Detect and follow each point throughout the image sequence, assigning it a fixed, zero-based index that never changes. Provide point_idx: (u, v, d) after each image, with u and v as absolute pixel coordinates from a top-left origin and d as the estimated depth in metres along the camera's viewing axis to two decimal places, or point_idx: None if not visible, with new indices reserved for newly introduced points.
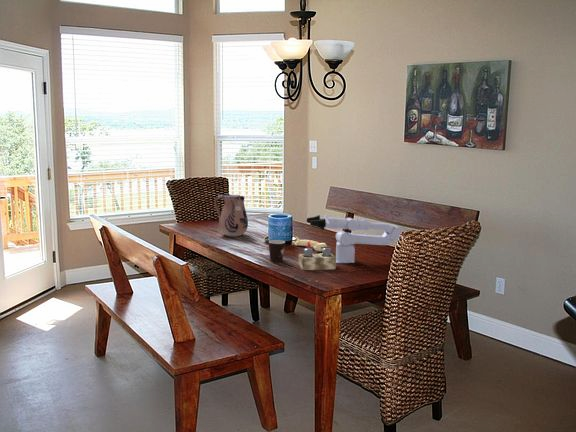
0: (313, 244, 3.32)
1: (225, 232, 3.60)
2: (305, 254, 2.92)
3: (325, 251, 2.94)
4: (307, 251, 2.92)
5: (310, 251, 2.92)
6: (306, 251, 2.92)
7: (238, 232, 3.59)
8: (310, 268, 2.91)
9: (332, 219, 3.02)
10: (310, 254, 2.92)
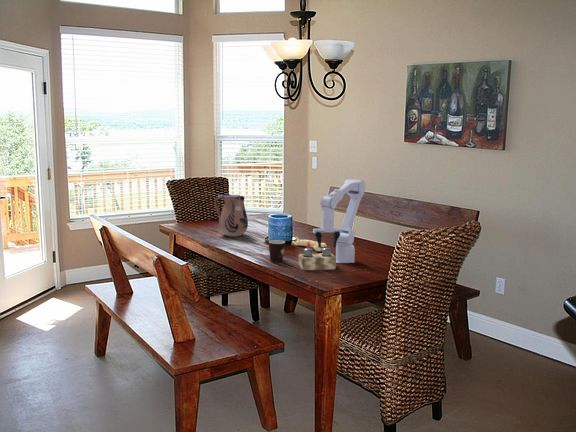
0: (313, 244, 3.32)
1: (225, 232, 3.60)
2: (305, 254, 2.92)
3: (325, 251, 2.94)
4: (307, 251, 2.92)
5: (310, 251, 2.92)
6: (306, 251, 2.92)
7: (238, 232, 3.59)
8: (310, 268, 2.91)
9: (332, 224, 2.92)
10: (310, 254, 2.92)
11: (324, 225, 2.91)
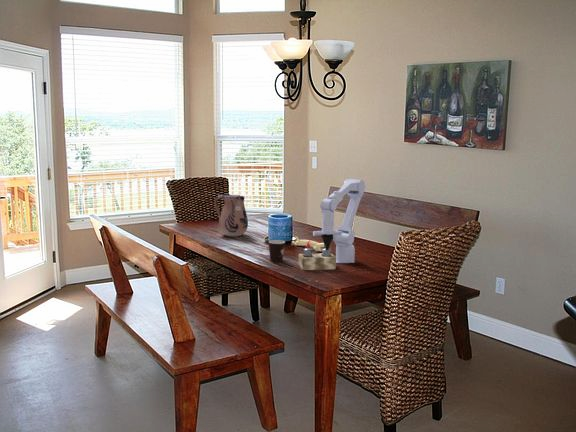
0: (313, 244, 3.32)
1: (225, 232, 3.60)
2: (305, 254, 2.92)
3: (325, 252, 2.94)
4: (307, 251, 2.92)
5: (310, 251, 2.92)
6: (306, 251, 2.92)
7: (238, 232, 3.59)
8: (310, 268, 2.91)
9: (332, 226, 2.92)
10: (310, 254, 2.92)
11: (324, 227, 2.92)
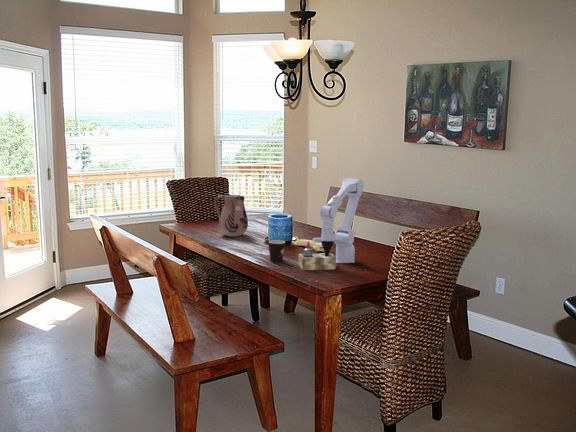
0: (312, 244, 3.32)
1: (225, 232, 3.60)
2: (305, 254, 2.92)
3: None
4: (307, 251, 2.92)
5: (310, 251, 2.92)
6: (306, 251, 2.92)
7: (238, 232, 3.59)
8: (310, 268, 2.91)
9: (332, 233, 2.92)
10: (310, 254, 2.92)
11: (324, 234, 2.92)
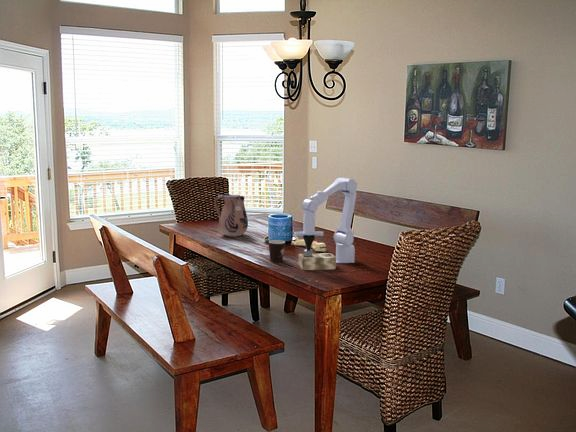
0: (312, 244, 3.32)
1: (225, 232, 3.60)
2: (305, 255, 2.93)
3: None
4: (307, 252, 2.92)
5: (310, 252, 2.92)
6: (306, 252, 2.92)
7: (238, 232, 3.59)
8: (310, 268, 2.91)
9: (313, 227, 2.90)
10: (310, 255, 2.92)
11: (305, 228, 2.90)
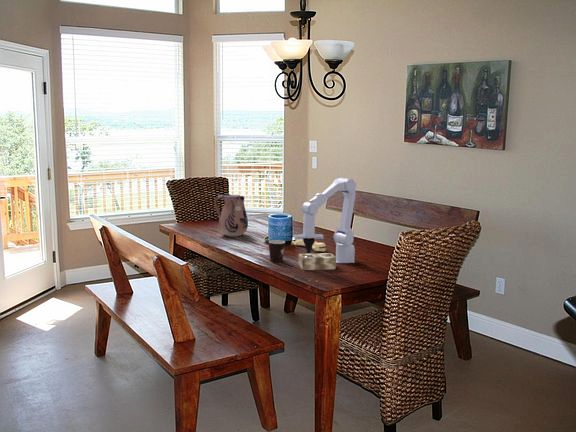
0: None
1: (225, 232, 3.60)
2: None
3: None
4: None
5: None
6: None
7: (238, 232, 3.59)
8: (310, 268, 2.91)
9: (313, 230, 2.90)
10: None
11: (305, 231, 2.90)
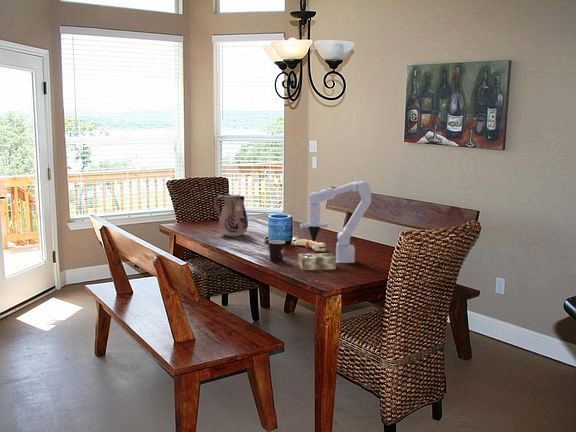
0: (312, 244, 3.32)
1: (225, 232, 3.60)
2: None
3: None
4: None
5: None
6: None
7: (238, 232, 3.59)
8: (310, 268, 2.91)
9: (318, 219, 3.04)
10: None
11: (311, 220, 3.04)
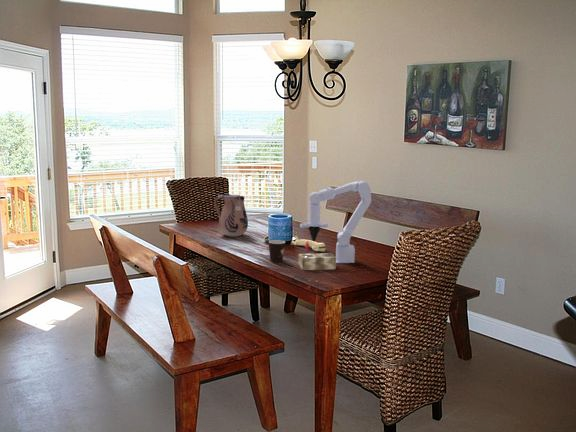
0: (311, 244, 3.32)
1: (225, 232, 3.60)
2: None
3: None
4: None
5: None
6: None
7: (238, 232, 3.59)
8: (310, 268, 2.91)
9: (318, 219, 3.04)
10: None
11: (311, 220, 3.04)
